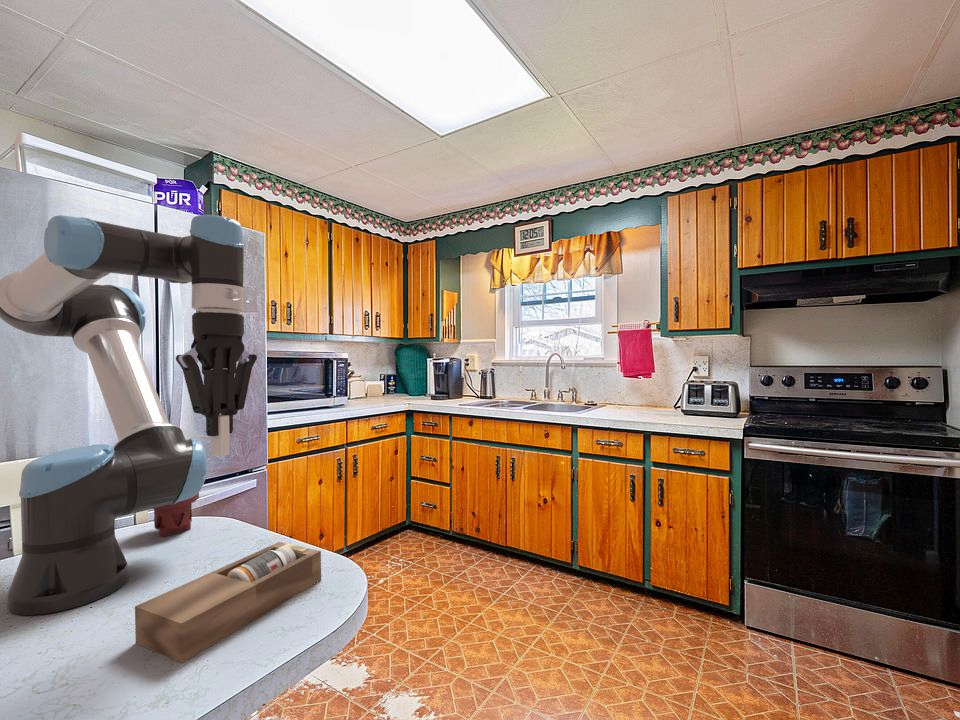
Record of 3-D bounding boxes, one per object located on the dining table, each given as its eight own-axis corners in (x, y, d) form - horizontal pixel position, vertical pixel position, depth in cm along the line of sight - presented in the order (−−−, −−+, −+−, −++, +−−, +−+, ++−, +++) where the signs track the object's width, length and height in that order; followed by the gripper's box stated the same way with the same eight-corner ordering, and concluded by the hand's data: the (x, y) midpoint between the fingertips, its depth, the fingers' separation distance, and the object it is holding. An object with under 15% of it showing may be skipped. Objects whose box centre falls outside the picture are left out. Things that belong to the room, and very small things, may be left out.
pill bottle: (252, 604, 71) (304, 572, 80) (240, 567, 72) (292, 539, 80) (231, 609, 74) (283, 577, 83) (219, 573, 74) (272, 546, 83)
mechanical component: (209, 524, 109) (173, 541, 99) (173, 522, 111) (134, 538, 101) (208, 471, 109) (172, 483, 99) (172, 470, 111) (133, 481, 101)
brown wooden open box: (135, 643, 64) (134, 604, 64) (279, 569, 86) (279, 540, 85) (182, 662, 60) (181, 622, 59) (321, 579, 81) (320, 549, 81)
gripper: (193, 308, 70) (195, 465, 71) (267, 314, 82) (269, 449, 82) (163, 310, 74) (165, 460, 74) (239, 316, 85) (240, 445, 86)
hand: (220, 454), depth 78 cm, fingers closed
